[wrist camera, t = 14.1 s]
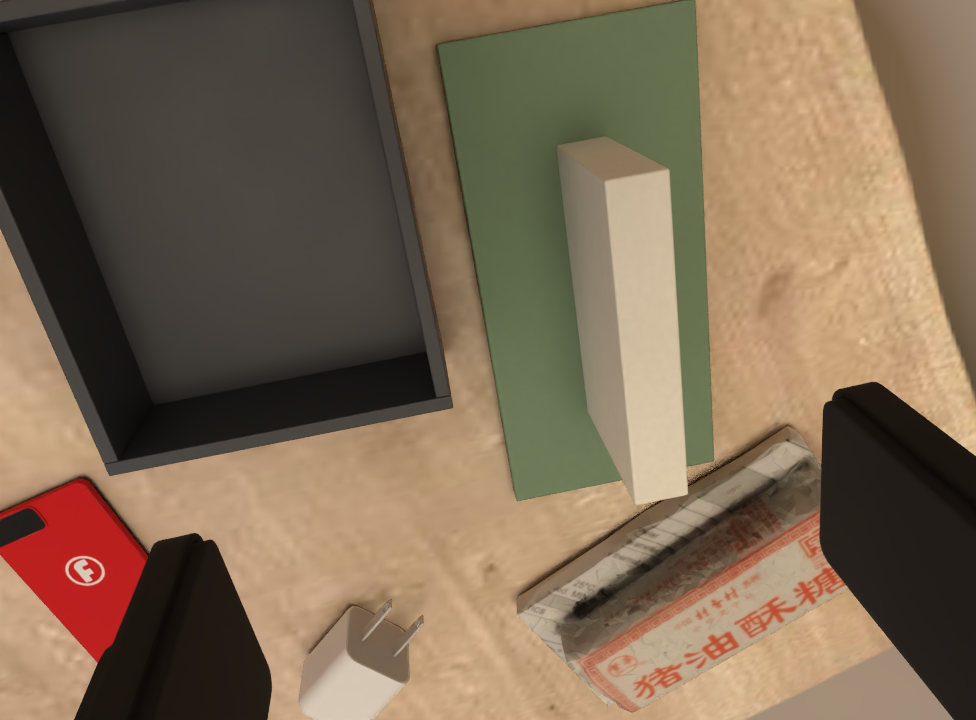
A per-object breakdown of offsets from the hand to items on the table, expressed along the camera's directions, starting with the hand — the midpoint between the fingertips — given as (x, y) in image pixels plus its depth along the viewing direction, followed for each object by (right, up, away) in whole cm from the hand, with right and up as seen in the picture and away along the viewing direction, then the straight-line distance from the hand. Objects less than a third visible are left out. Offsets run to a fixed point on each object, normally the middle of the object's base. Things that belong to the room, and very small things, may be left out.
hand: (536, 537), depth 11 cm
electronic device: (-20, -10, +28) cm, 36 cm away
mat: (+4, +7, +24) cm, 25 cm away
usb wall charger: (-7, -12, +31) cm, 34 cm away
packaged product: (+11, -9, +32) cm, 35 cm away
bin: (-11, +9, +21) cm, 25 cm away
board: (+4, +6, +23) cm, 24 cm away
